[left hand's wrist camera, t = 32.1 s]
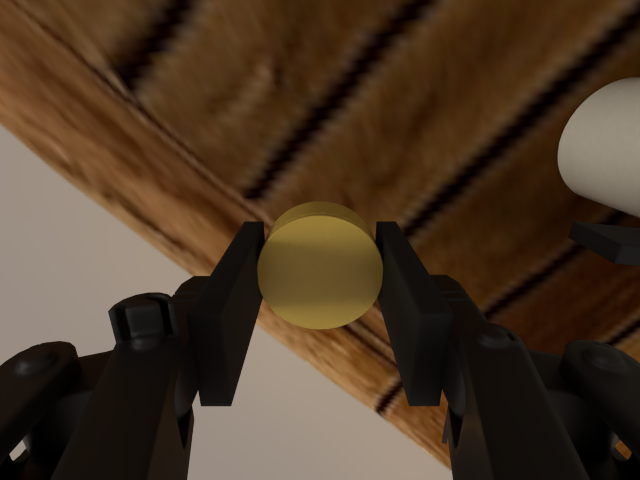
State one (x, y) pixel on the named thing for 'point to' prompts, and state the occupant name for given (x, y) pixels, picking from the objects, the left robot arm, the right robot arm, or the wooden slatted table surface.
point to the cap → (320, 266)
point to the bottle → (605, 147)
